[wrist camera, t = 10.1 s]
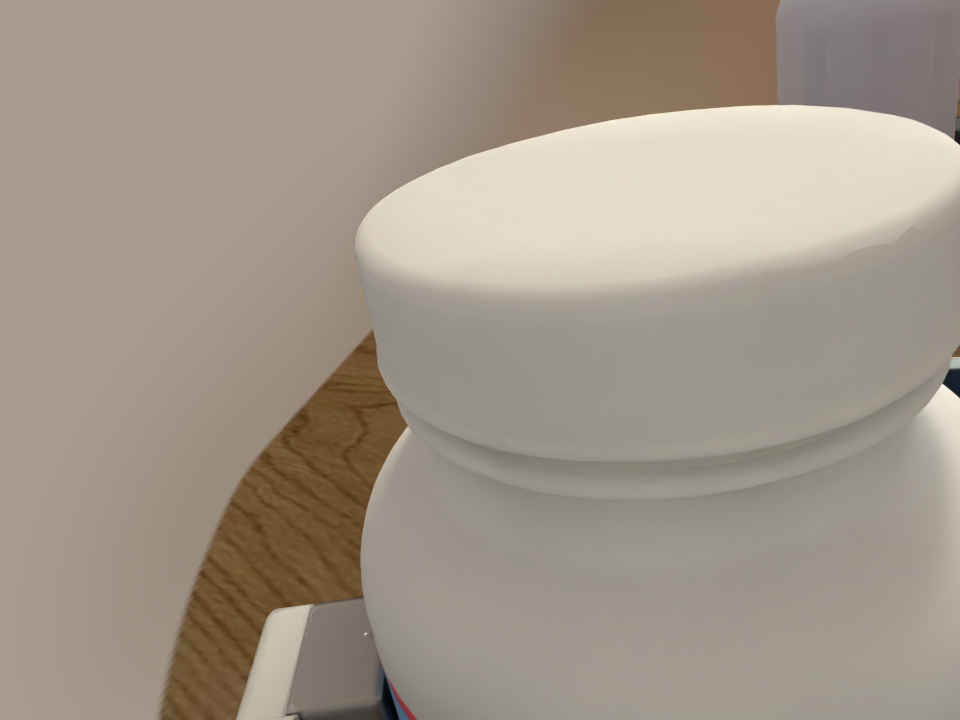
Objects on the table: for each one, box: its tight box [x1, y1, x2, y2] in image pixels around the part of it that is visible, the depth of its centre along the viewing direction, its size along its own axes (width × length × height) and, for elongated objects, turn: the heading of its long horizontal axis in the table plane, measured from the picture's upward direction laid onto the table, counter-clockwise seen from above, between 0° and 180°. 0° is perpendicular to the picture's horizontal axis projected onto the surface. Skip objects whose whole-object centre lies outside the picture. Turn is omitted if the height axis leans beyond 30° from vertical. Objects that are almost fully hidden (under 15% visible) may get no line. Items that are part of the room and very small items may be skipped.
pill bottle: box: [355, 105, 960, 720], centre depth 9 cm, size 6×6×11 cm
